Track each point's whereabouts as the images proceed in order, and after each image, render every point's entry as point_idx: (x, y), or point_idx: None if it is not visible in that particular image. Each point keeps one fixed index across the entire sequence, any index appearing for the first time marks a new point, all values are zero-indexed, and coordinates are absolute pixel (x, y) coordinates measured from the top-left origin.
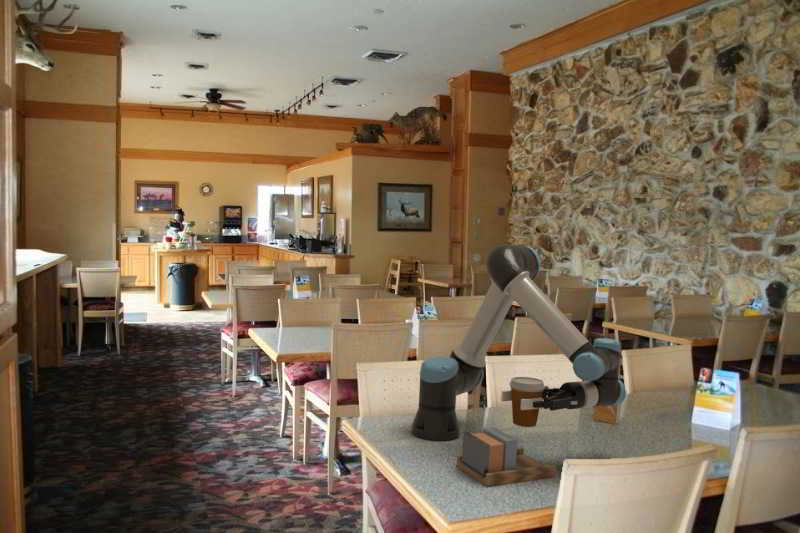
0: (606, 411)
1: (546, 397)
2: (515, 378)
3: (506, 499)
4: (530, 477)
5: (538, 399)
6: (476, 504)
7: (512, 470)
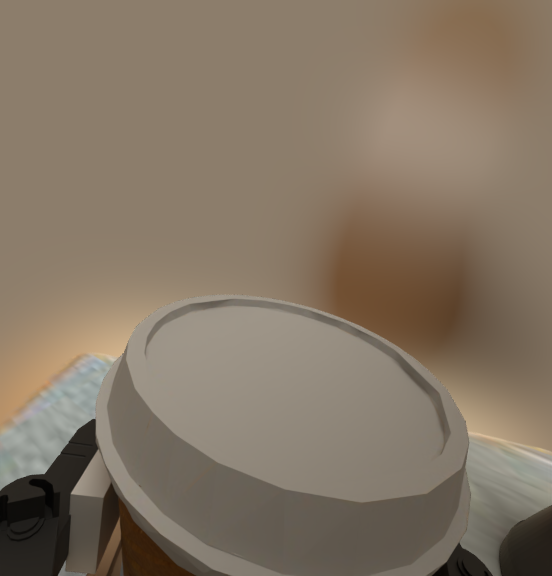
0: None
1: (10, 485)
2: (399, 361)
3: (45, 470)
4: None
5: (99, 454)
6: (91, 407)
7: (109, 551)
